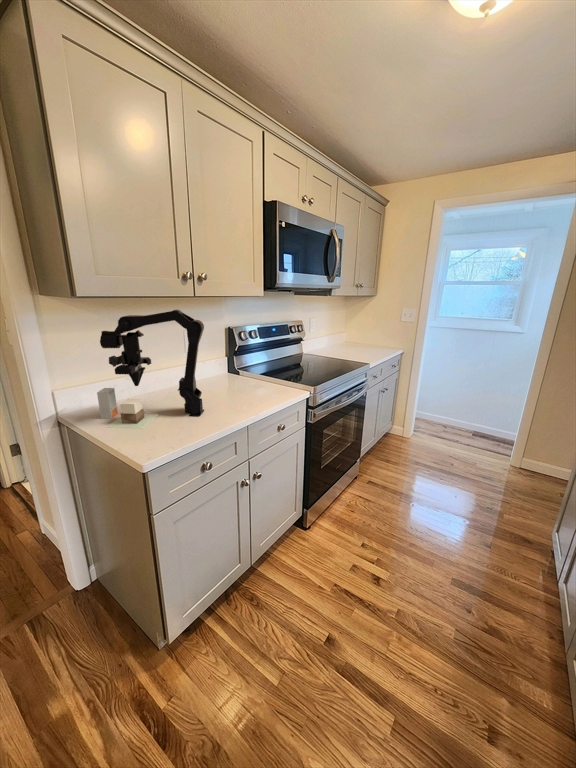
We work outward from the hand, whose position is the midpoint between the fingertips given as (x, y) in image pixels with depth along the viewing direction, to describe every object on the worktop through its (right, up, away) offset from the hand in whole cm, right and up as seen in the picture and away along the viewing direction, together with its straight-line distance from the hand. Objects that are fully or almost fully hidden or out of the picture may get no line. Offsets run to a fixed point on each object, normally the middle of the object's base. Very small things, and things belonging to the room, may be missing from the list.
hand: (136, 385), depth 129 cm
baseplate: (0, -14, -3) cm, 15 cm away
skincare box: (-11, -13, +1) cm, 18 cm away
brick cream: (0, -10, -5) cm, 11 cm away
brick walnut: (0, -14, -4) cm, 14 cm away
